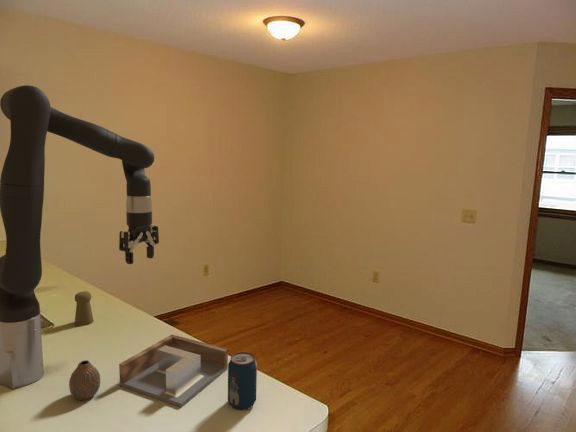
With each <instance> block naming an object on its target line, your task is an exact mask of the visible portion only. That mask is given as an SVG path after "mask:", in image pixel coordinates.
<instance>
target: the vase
mask: <svg viewBox="0 0 576 432" xmlns="http://www.w3.org/2000/svg"><path fill="white" fill-rule="evenodd" d="M68 387H69V388H68V389H69V392H70V394H71V396H72V397H73V398H74V399H76V400H78V401H87V400H89V399H91V398H93V397H94V396H95V395H96V394H97V393H98V391H99V389H100V387H101V375H100V372H99V370H98V369H97V367H95V366H94V365H93V364H92V363H91V362H90V360H82V361H79V363H78V364H77V366H76V368H75V369H74V371H73V372H72V373H71V375H70V378H69V381H68Z"/></svg>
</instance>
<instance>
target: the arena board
mask: <svg viewBox="0 0 576 432" xmlns="http://www.w3.org/2000/svg"><path fill="white" fill-rule="evenodd" d="M226 371H228V366H227V367H226V368H222V367H219V366H215V365H212V364H208V363H205V362H202V361H201V376H200V377H199V378H197V379H196V380H195V381H194V382H192V383H191V384H190V385H188V386H187V387H186V388H185V389H183V390H182V391H181V392H179V393H178V394H177V395H173V394H170V393H167V392H166V373H165V372H162V371H158V363H156V364H154V365H153V366H151V367H150V368H148V369H147V370H145V371H143V372H142V373H140V374H139V375H137V376H135V377H134V378H132V379H131V380H129V381H127V382H126V383H121V382H120V381H119V387H122V388H124V389H125V388H126V389H128V390H131V391H133V392H137V393H139V394H143V395H145V396H148V397H150V398H154V399H157V400H159V401H162V402H164V403H168V404H170V405H173V406H176V407H178V408H183V407H184V406H185V405H186V404H188V403H189V402H190V401H192V400H193V399H194V398H195V397H196V396H197V395H199V393H201V392H202V391H203V390H205V388H207V387H208V386H209V385H211V384H212V383H214V381H216V379H217V378H219V377H220V376H221V375H223V374H224V373H225V372H226Z"/></svg>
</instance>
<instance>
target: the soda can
mask: <svg viewBox="0 0 576 432" xmlns="http://www.w3.org/2000/svg"><path fill="white" fill-rule="evenodd" d="M257 369H258V363H257V361H256V358H255V356H254V354H252V353H251V352H246V351H242V352H241V351H239V352H236V353H233V354H232V355H231V356H230V360H229V362H228V369H227V402H228V404H229V406H230V408H232V409H234V411H239V412H241V411H247V410H249V409H251V408H252V407H253V406H254V404H255V403H256V401H257V378H258V377H257V375H258V374H257V373H258V370H257Z"/></svg>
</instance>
